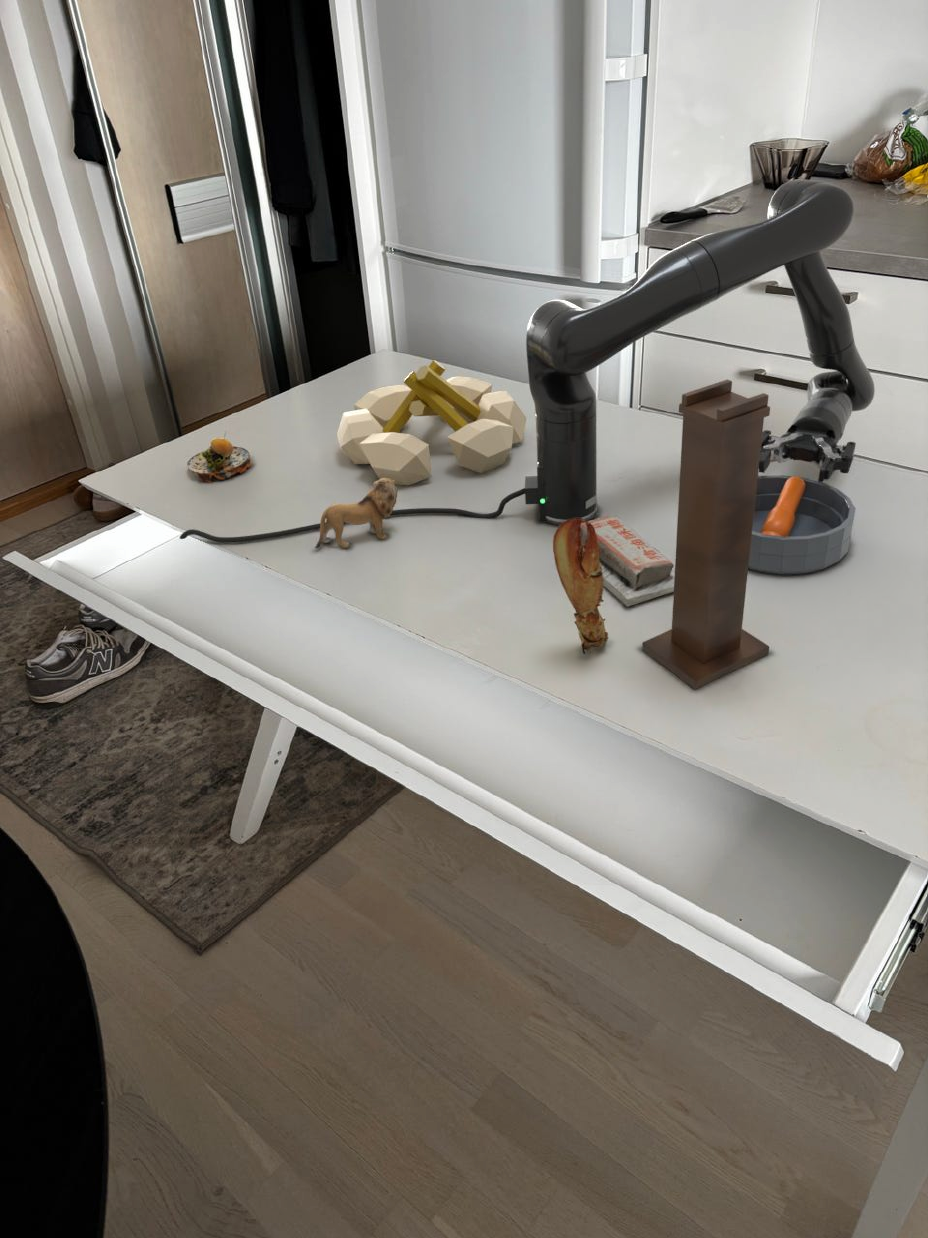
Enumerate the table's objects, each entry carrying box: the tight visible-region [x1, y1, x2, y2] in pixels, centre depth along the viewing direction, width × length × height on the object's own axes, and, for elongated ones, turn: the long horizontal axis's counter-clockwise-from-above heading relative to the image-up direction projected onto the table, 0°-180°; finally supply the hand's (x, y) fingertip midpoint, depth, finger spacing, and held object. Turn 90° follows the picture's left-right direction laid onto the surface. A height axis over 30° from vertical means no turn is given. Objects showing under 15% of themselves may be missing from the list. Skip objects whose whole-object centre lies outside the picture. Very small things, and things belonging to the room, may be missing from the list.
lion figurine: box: [314, 478, 398, 549], centre depth 149 cm, size 15×5×9 cm, turn 116°
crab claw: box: [552, 517, 609, 655], centre depth 117 cm, size 7×5×20 cm
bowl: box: [748, 474, 856, 575], centre depth 139 cm, size 20×20×6 cm
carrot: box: [760, 476, 805, 537], centre depth 139 cm, size 18×4×4 cm, turn 150°
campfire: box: [336, 359, 527, 487], centre depth 174 cm, size 35×34×17 cm
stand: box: [641, 379, 771, 690], centre depth 110 cm, size 12×10×34 cm
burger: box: [187, 430, 253, 483], centre depth 176 cm, size 12×12×8 cm
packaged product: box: [580, 515, 675, 608], centre depth 136 cm, size 18×5×10 cm
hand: (791, 471), depth 138 cm, fingers open, 8 cm apart
